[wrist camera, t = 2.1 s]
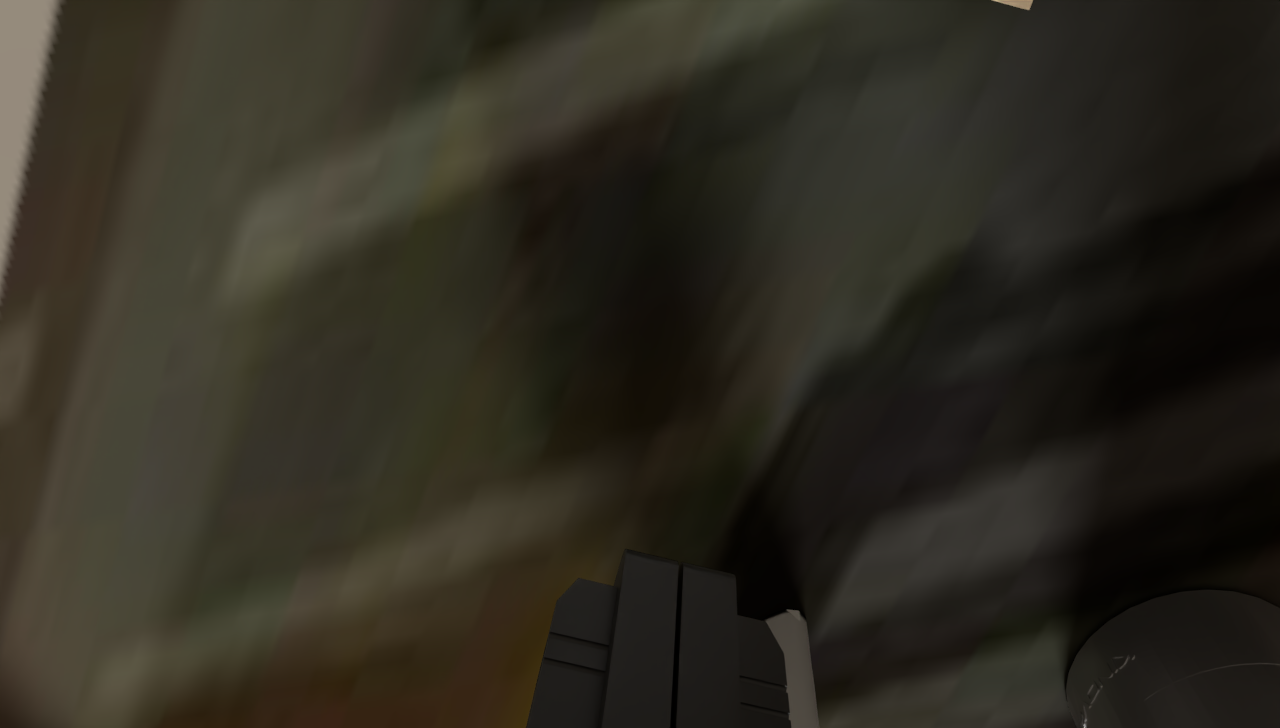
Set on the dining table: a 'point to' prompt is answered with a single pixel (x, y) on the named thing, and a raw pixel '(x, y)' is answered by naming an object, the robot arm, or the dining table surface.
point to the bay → (1017, 3)
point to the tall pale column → (796, 666)
